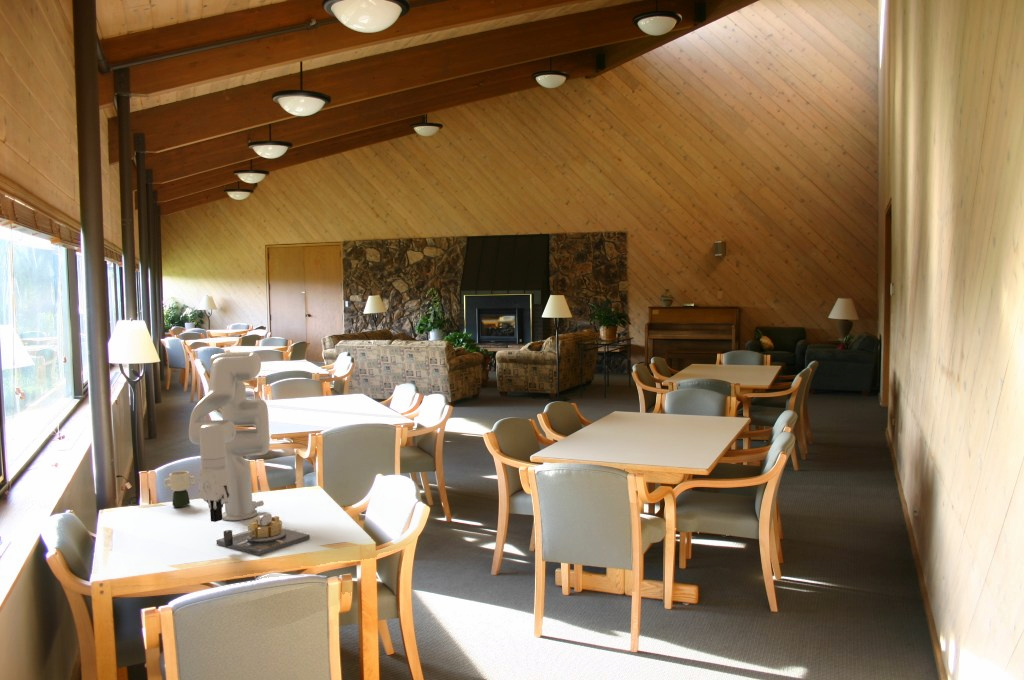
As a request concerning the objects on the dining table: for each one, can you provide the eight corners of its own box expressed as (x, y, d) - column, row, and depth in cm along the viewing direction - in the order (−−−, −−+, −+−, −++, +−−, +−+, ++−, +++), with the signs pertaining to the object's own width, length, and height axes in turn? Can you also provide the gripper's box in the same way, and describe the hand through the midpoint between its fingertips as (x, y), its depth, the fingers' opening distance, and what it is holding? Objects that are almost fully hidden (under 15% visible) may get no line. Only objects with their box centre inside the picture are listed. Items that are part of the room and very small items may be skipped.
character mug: (197, 502, 334) (195, 469, 334) (195, 507, 328) (193, 473, 327) (167, 505, 331) (165, 472, 331) (165, 510, 325) (163, 476, 324)
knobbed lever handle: (268, 527, 288) (268, 514, 288) (288, 532, 282) (287, 518, 282) (215, 543, 272) (214, 529, 271) (235, 548, 266) (234, 534, 265)
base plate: (267, 529, 295) (266, 504, 294) (309, 539, 282) (308, 513, 281) (216, 544, 279) (215, 518, 278) (258, 556, 266) (257, 529, 265)
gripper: (188, 463, 272) (191, 520, 273) (218, 467, 264) (221, 526, 265) (208, 459, 278) (211, 515, 279) (238, 462, 270) (241, 520, 271)
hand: (216, 520), depth 272 cm, fingers closed
